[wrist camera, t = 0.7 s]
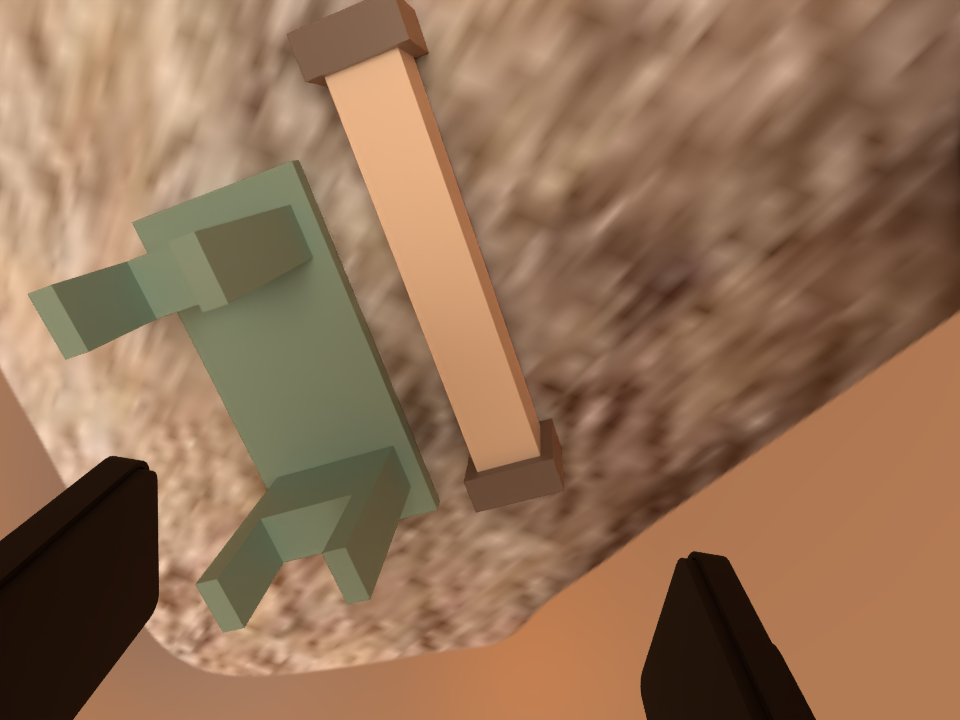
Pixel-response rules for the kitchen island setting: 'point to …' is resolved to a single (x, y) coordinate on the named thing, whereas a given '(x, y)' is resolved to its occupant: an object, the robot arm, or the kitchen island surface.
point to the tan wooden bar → (432, 242)
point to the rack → (269, 377)
